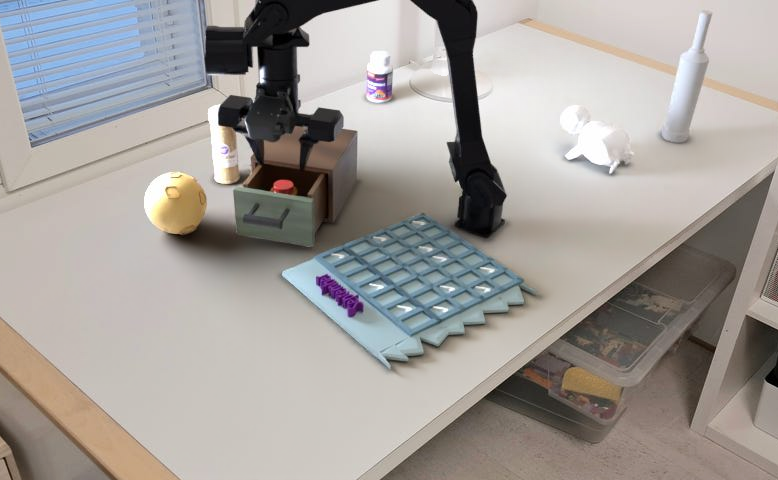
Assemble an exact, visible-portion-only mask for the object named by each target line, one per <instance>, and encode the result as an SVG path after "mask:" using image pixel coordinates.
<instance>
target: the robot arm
mask: <svg viewBox="0 0 778 480" xmlns="http://www.w3.org/2000/svg"><path fill="white" fill-rule="evenodd" d="M409 1H410V2H411V3H412V4H414V5H415V6H416V7H417V8H419V9H420V10H421V11H422V12H423V13H424V14H425V15H427V16H429V17H430V18H432V19H433V20H435V22H436V25H437V28H438V31H439V34H440V36H441V40H442V43H443V46H444V49H445V53H446V54H445V55H446V62H447V69H448V76H449V78H448V79H449V84H450V85H449V86H450V92H451V100H452V108H453V114H454V122H455V130H456V132H455V138H454V141H446V146H447V149H448V150H447V151H448V152H449V160H448V165H449V167H450V171H451V175H452V178H453V182H454V183H457V182H458V184H459V188H460V189H461V190H462V191H461V195H459V196H458V204H457V215H456V217H457V220H455V222H454V224H453V227H455V228H456V229H460V230H463V231H465V232H467V233H470V234H473V235H476V236H477V237H480V238H483V239H489V238H491V236H492V235H493V234H494V233H496V232H497V231H498V230H499V229H500V228H501V227H502V226H503V225H505V223H506V220H505V218H502V216H503V208H504V203H505V201H506V199H507V197H508V193H507V192H506V189H505V186H504V183H503V181H502V179H501V176H500V173H499V170H498V169H497V167H496V166H494V164H493V163H492V162H491V159H490V156H489V153H488V149H487V146H486V144H485V141H484V138H483V132H482V130H483V129H482V123H481V113H480V112H481V111H480V105H479V96H478V88H477V77H476V70H475V68H476V67H475V60H474V50H475V49H474V48H475V44H476V39H477V31H478V16H479V15H478V13H479V12H478V9H477V6H476V4H475V2H474V0H409ZM374 2H379V0H255V1H254V7H253V9H252V10H251V11H250V13H249V14H248V16H247V17H246V19H245V20H244V22H243V23H244V24H243V26H219V25H207V26H205V30H204V34H205V35H204V36H205V37H204V38H205V44H204V45H205V47H204V48H205V53H204V67H205V73H206V75H207V76H245V75H246V76H247V73H249V71H250V70H249V69H251V68H252V69H253V68H254V48H256V53H257V67H258V68H257V71H258V82H257V84H256V85H255V96H254V98H253V99H252V98H251V97H249V96H241V95H235V94H229V95H228V96H227V97H226V99H225V100H224V101H222V103H221V104H219V105H220V106H219V107H218V108H217V110H216V123H217V125H218V126H225V127H231V128H232V130H233V131H234V132H236V133H238V134H239V135H241V136H243V137H244V139H245V140H246V141H247V144H248V145H249V147H250V150H251V151H252V153H253V154H254V155H255V158H256V160H257V162H258V164H259V165H260V166H262V165H263V163H264V140H266V141H268V142H277V141H278V140H279V139H280V137H281V135H284V134H285V133H288V134H292V132H293V130H294V127H295V126H299V127H303V130H304V133H303V134H302V136H301V137H300V138H299V143H300V163H299V166H300V172H303V171H304V169H305V167H306V164H307V161H308V159H309V156H310V153H311V151H312V148H313V145H314V144H317V143H319V141H325V142H332V141H334V140H335V139H336V137H337V136H338V134H339V133H340V131H341V130H342V129H344V126H345V125H344V123H345V122H344V121H345V119H344V118H345V117H344V115H343V113H342V111H340V110H339V109H332V108H326V107H319V106H318V107H317V108H316V110H315V111H314V112H313V113H311V114H308V113H300V111H299V109H300V108H301V106H302V104H301V99H299V83H300V82H301V74H299V73H298V48H309V46H310V45H311V44H310V35H309V33H308V32H306V31H305V30H303V29H302V28H301V27H302V26H304V25H306V24H307V23H309V22H310V21H312V20H313V19H315V18H317V17H319V16H321V15H323V14H328V13H331V12H336V11H340V10H345V9H349V8H353V7H356V6H357V7H358V6H360V5H361V6H362V5H365V4H370V3H374Z"/></svg>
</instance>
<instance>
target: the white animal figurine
mask: <svg viewBox="0 0 778 480" xmlns="http://www.w3.org/2000/svg"><path fill="white" fill-rule="evenodd" d="M590 119H591V113H590V112H589V110H588V108H587V107H586V106H584V105H583V104H572V105H569V106H567V107H566V108H565V109H564V111H563V112H562V114H561V115H560V125H561V127H562V128H563V129H564V130H566V131H567V132H568V133H569V134H570V135H578V134H579V136H578V138H577V139H578V140H577V145H575V146H574V147H572V148H571V149H570V150H569V151H568V152H567V153H566V154H565V155H564V156H565V158H566V159H567V160H568V161H570V160H573V159H576V158H578V157H580V156H582V155H583V156H584V157H585V158H586V159H587V160H588V161H590V163H592V164H595V165H600V166H605V167H607V168H609V171H608V172H609V173H608V174H612V173H614V171H615V170H616V169H617V167H618V166H619V165H620V163H621V162H620V161H624V166H627V165H628V163H629V162H630V161H631V159H632V157H633V156H634V155H635V152H634V151H632V145H631V142H630V137H629V134H628V132H627V131H626V130H625V129H624V128H622V127H620V126H617V125H615V124H613V123H609V122H606V121H604V120H593V121H590Z"/></svg>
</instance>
